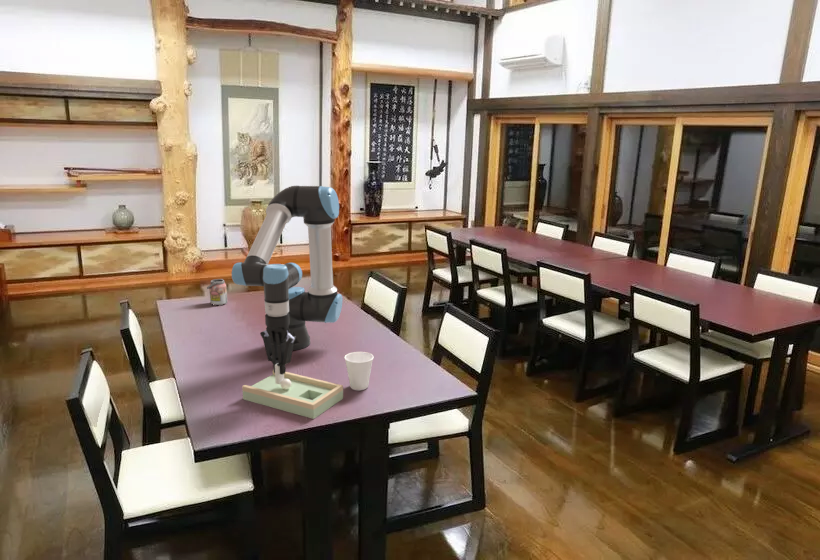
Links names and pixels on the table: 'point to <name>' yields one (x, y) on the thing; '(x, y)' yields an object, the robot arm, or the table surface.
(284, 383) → the ball
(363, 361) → the cup
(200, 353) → the table surface
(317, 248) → the robot arm
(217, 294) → the beverage can
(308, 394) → the green tray with hole
